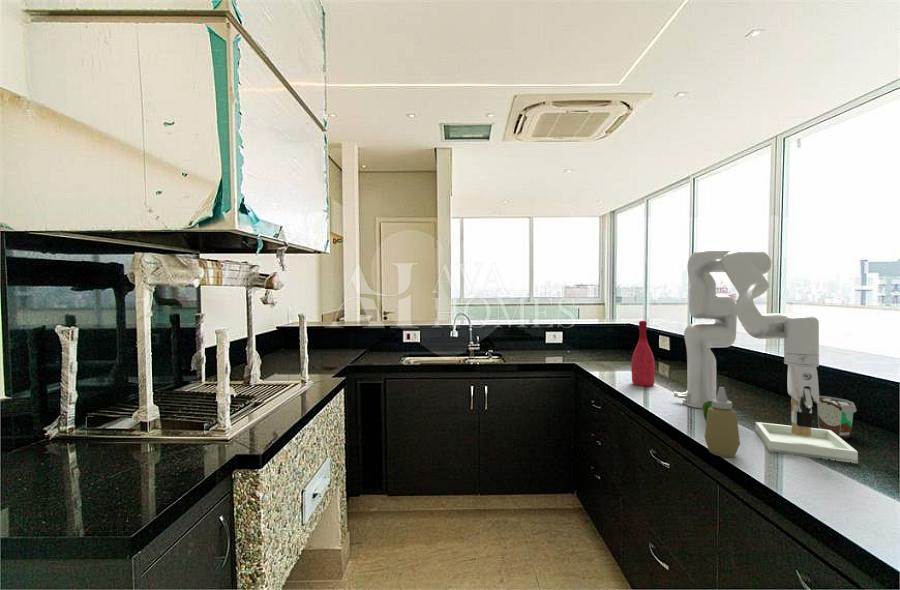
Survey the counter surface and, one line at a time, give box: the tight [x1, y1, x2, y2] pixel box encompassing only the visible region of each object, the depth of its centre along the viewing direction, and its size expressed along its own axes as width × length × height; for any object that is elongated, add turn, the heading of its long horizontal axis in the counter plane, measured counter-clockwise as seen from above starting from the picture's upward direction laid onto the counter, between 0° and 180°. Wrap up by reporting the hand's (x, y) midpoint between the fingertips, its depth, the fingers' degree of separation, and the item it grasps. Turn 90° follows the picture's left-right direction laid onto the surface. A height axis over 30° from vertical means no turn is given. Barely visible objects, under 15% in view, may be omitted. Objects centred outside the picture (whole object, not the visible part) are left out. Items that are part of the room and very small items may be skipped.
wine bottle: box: [631, 320, 656, 387], centre depth 194 cm, size 10×10×30 cm
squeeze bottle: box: [704, 386, 741, 458], centre depth 112 cm, size 8×8×18 cm
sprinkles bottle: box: [790, 392, 812, 437], centre depth 117 cm, size 5×5×14 cm
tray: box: [754, 421, 859, 464], centre depth 117 cm, size 18×18×3 cm
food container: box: [816, 395, 858, 439], centre depth 127 cm, size 12×6×10 cm, turn 168°
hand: (801, 422), depth 117 cm, fingers closed on sprinkles bottle, 4 cm apart
